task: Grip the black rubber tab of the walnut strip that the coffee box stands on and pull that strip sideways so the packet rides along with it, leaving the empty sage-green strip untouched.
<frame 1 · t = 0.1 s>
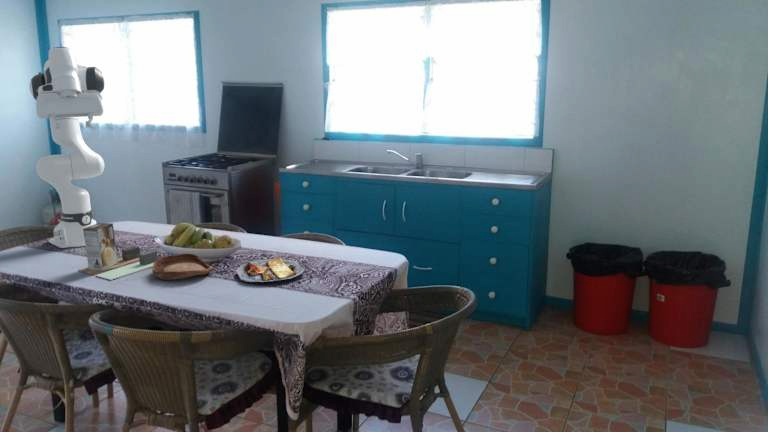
hand: (73, 127, 205), 54 cm above the table, tool tilted 30°, fingers open, 8 cm apart
sage strip: (129, 264, 228), point 2 cm above the table, slide at 0.0 cm
coffee box: (103, 267, 231), resting on walnut strip
food plate: (270, 275, 223), on the table
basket: (183, 275, 224), on the table
walnut strip: (112, 259, 234), point 2 cm above the table, slide at 0.3 cm, touching coffee box
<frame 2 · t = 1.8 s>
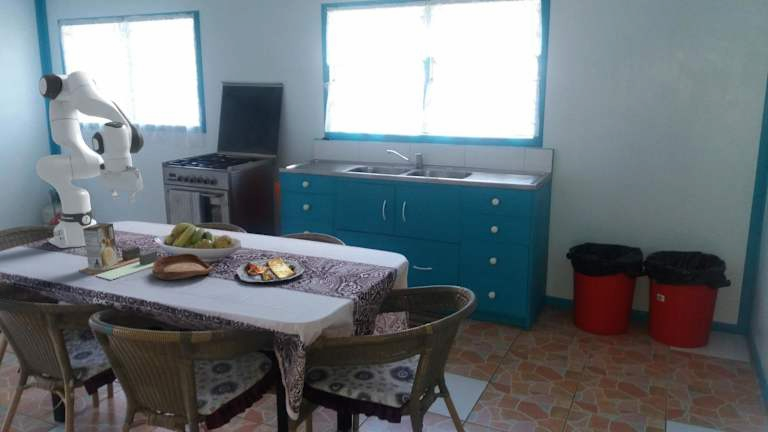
hand: (124, 200, 235), 24 cm above the table, tool pointing down, fingers open, 8 cm apart
nothing on the table moved.
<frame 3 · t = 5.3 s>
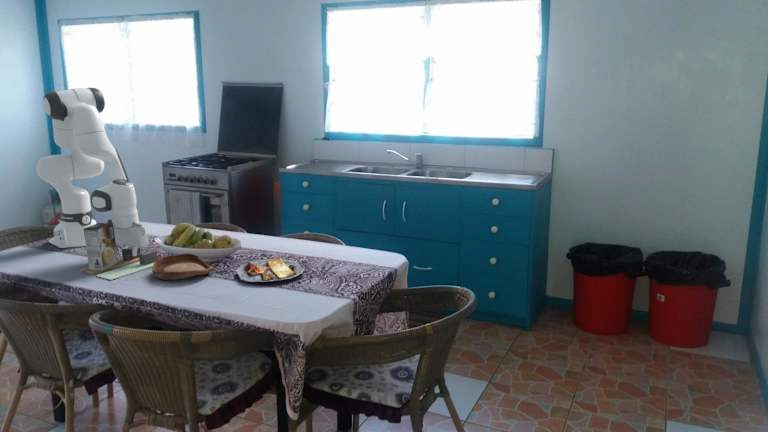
hand: (130, 255, 241), 2 cm above the table, tool pointing down, fingers closed on walnut strip, 3 cm apart
walnut strip: (112, 259, 234), point 2 cm above the table, slide at 0.5 cm, touching gripper, coffee box
everything else where it was.
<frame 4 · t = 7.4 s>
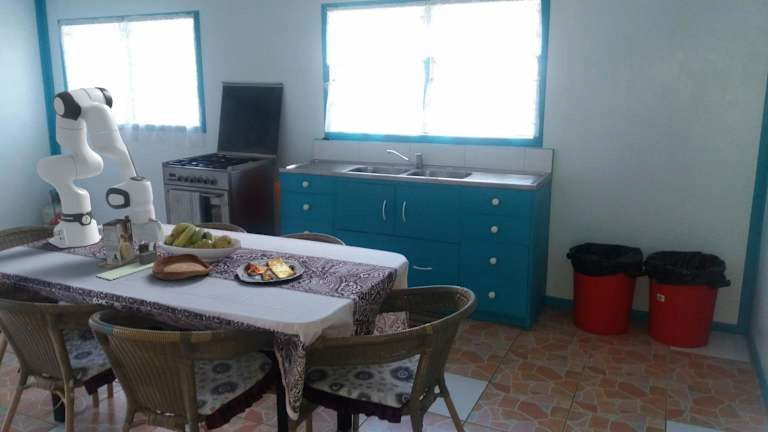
hand: (146, 250, 247), 2 cm above the table, tool pointing down, fingers closed on walnut strip, 3 cm apart
coffee box: (121, 261, 238), resting on walnut strip
walnut strip: (129, 254, 241), point 2 cm above the table, slide at 8.1 cm, touching gripper, coffee box
everything else where it was.
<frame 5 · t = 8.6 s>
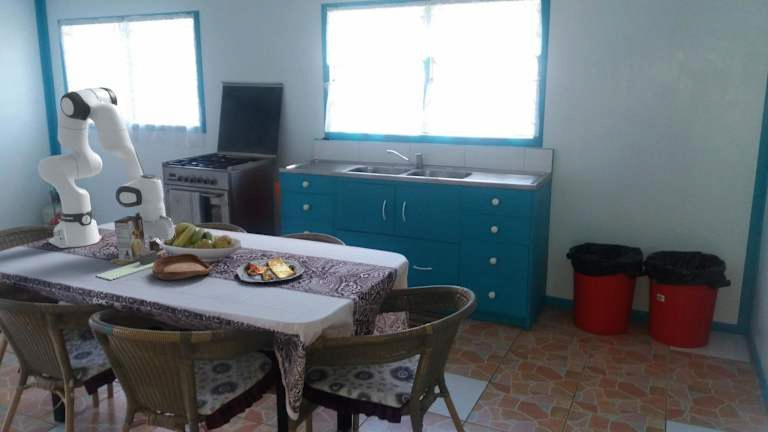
hand: (157, 246, 251), 2 cm above the table, tool pointing down, fingers closed on walnut strip, 3 cm apart
coffee box: (132, 258, 242), resting on walnut strip
walnut strip: (141, 250, 245), point 2 cm above the table, slide at 13.2 cm, touching gripper, coffee box
everything else where it was.
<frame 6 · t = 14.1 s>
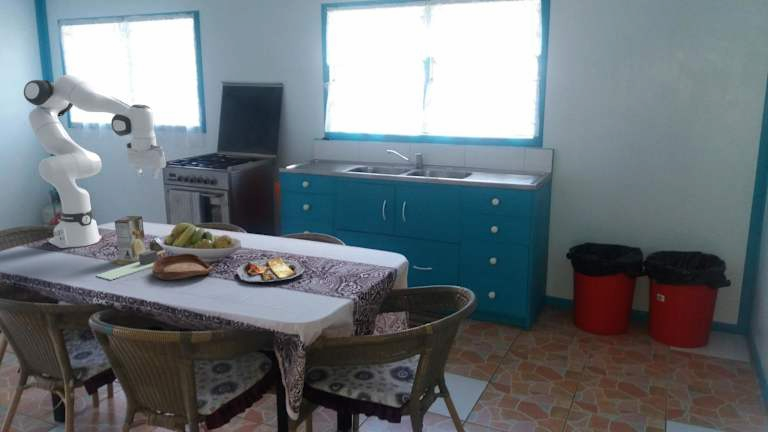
hand: (148, 177, 256), 29 cm above the table, tool pointing down, fingers open, 8 cm apart
walnut strip: (141, 250, 245), point 2 cm above the table, slide at 13.4 cm, touching coffee box
everything else where it was.
at the end: coffee box inside the target area (0.6 cm from its centre), resting on walnut strip; coffee box tilted 0°; sage strip slide at 0.0 cm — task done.
